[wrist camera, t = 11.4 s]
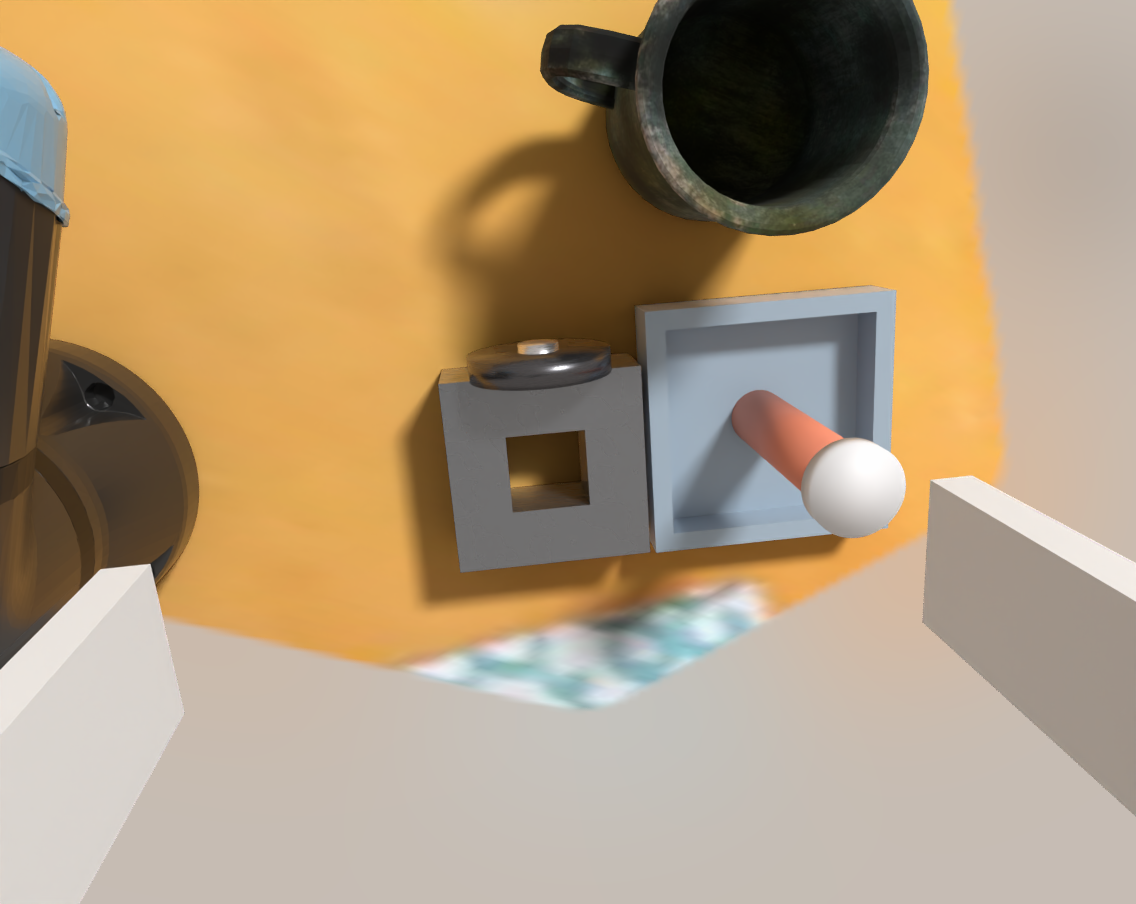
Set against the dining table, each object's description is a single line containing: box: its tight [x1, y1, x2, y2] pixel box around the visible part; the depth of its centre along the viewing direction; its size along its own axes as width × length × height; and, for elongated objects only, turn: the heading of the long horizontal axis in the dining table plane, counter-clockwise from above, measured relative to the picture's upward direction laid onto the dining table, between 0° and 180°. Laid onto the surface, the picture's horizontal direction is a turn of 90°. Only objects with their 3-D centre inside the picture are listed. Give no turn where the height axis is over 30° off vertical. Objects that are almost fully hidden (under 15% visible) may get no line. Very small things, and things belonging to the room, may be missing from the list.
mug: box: [540, 0, 929, 236], centre depth 37 cm, size 11×15×12 cm
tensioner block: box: [438, 339, 650, 573], centre depth 43 cm, size 10×12×8 cm
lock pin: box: [731, 390, 906, 538], centre depth 40 cm, size 4×4×13 cm
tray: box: [634, 285, 896, 553], centre depth 46 cm, size 13×13×3 cm
